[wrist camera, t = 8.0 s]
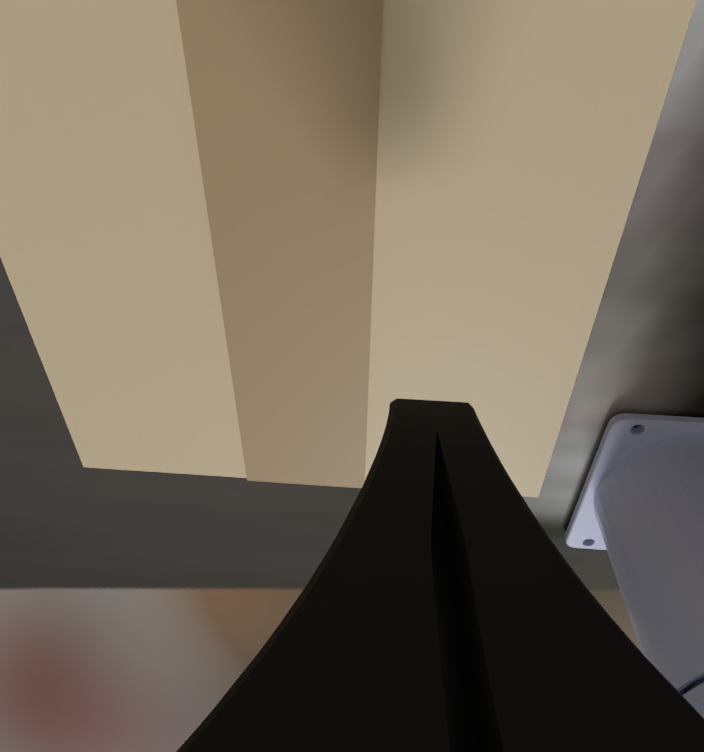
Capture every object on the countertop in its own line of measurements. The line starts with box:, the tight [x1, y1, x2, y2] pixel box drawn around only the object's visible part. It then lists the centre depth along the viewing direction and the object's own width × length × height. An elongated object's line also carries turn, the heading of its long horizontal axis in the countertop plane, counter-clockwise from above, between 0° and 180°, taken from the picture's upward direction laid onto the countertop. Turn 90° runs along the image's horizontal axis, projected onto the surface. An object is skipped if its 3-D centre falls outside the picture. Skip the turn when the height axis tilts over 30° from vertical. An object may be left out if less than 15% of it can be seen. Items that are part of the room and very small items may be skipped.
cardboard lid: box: [0, 0, 697, 497], centre depth 13 cm, size 14×15×1 cm
